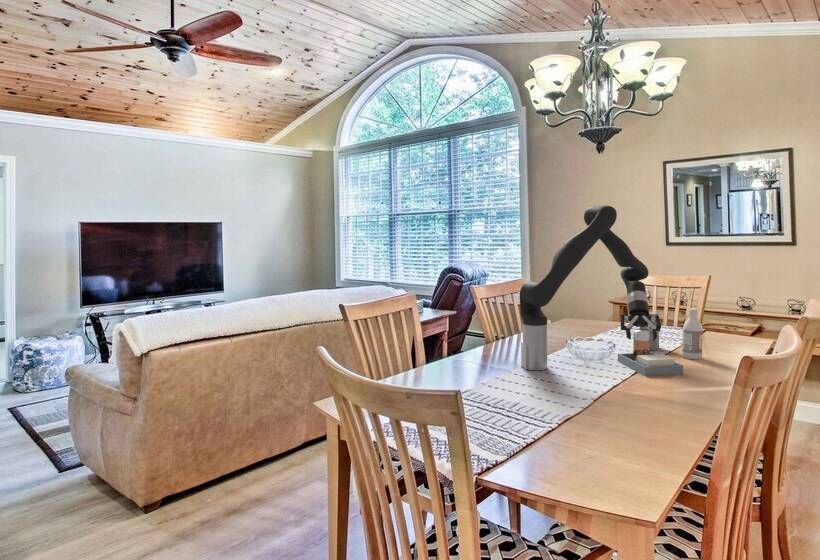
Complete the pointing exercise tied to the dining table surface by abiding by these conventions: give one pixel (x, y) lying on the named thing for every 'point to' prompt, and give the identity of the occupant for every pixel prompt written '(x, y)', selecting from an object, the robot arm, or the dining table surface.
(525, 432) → the dining table surface
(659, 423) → the dining table surface
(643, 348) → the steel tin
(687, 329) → the bath foam
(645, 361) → the egg box
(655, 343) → the skincare box
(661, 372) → the tray
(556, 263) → the robot arm
